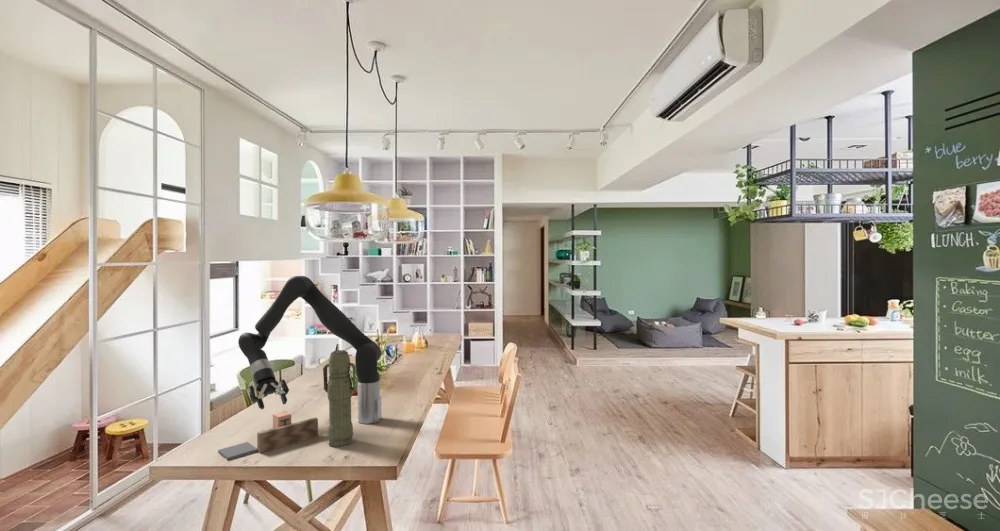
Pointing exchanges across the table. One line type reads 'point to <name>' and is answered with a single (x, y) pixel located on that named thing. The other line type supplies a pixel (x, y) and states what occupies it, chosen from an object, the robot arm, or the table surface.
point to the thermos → (339, 398)
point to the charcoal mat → (237, 450)
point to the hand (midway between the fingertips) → (274, 405)
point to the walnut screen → (287, 434)
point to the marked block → (281, 419)
